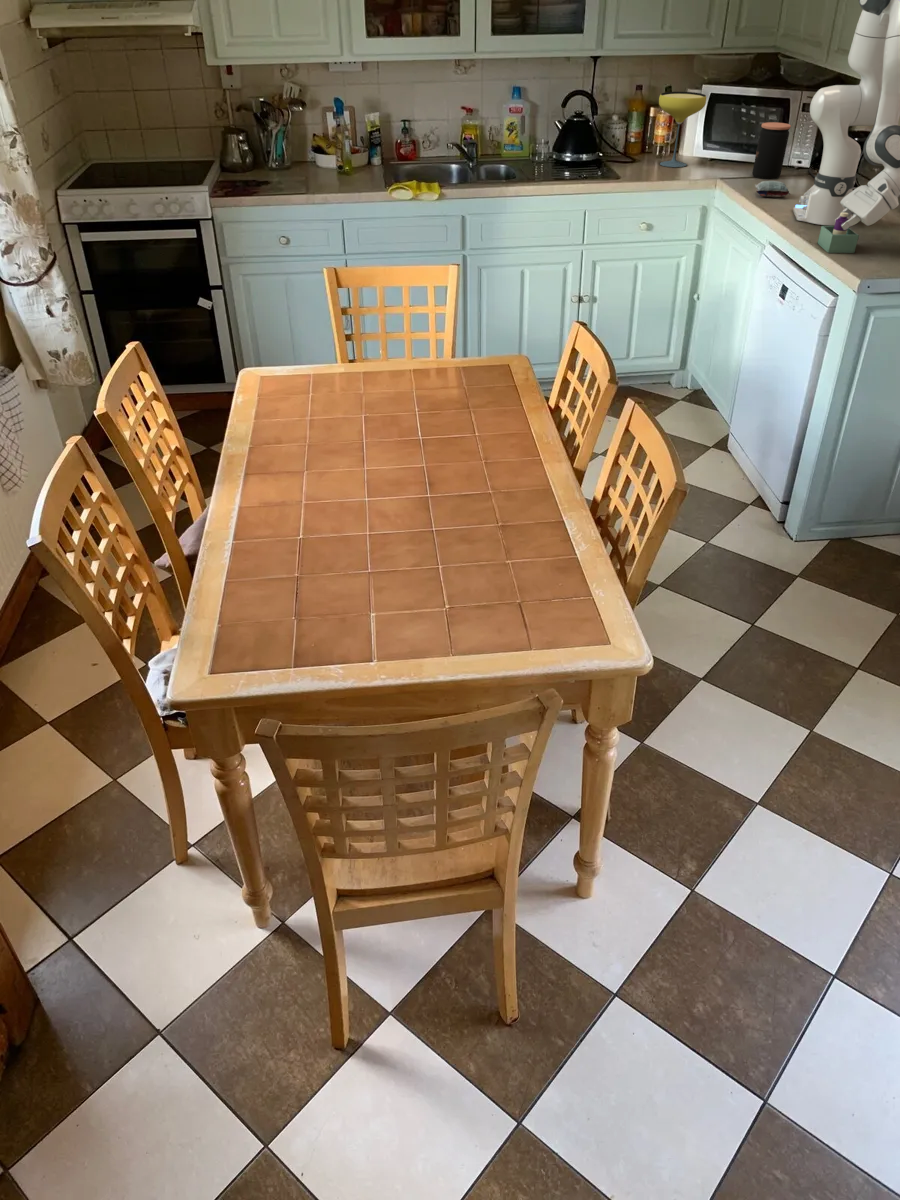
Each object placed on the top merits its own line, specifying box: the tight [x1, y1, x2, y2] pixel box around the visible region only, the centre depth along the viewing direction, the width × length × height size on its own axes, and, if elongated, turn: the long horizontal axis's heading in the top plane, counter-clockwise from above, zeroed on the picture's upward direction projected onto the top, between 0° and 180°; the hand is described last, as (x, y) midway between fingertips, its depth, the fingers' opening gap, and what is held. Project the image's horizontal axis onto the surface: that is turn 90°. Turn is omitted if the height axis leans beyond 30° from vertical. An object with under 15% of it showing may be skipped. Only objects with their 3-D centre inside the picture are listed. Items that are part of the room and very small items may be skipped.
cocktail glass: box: [658, 91, 707, 168], centre depth 354 cm, size 18×18×25 cm
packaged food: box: [754, 180, 791, 198], centre depth 318 cm, size 9×12×5 cm
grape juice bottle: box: [832, 212, 848, 235], centre depth 264 cm, size 4×4×8 cm
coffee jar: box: [752, 121, 792, 180], centre depth 339 cm, size 11×11×18 cm
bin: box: [817, 225, 860, 254], centre depth 266 cm, size 10×8×5 cm
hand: (839, 225), depth 264 cm, fingers closed on grape juice bottle, 4 cm apart
